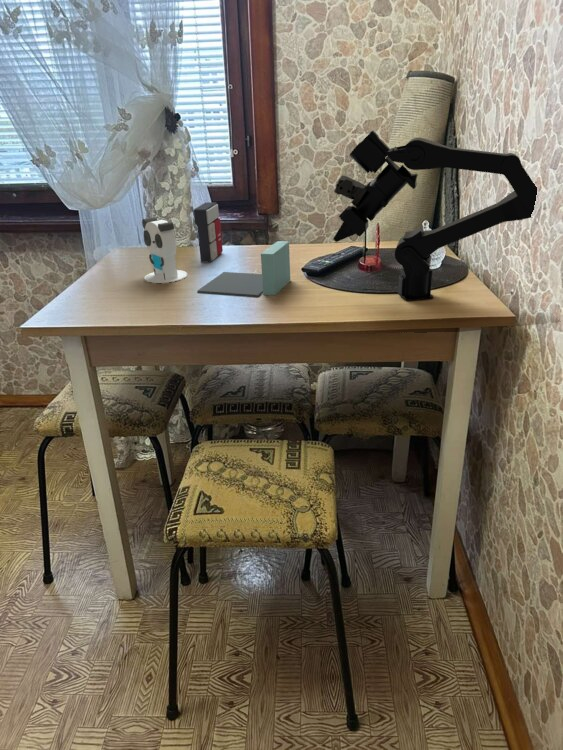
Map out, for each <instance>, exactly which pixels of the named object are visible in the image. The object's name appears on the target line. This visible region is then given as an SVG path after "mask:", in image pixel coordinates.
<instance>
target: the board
mask: <svg viewBox="0 0 563 750" xmlns="http://www.w3.org/2000/svg"><path fill="white" fill-rule="evenodd" d="M290 259H291V258H290V242H289V241H281V240H279V241H278V240H277V241H276V242H274V243H273V244H272V245H270V246H268V247H267V249H265V250H263V251H262V252H261V253H260V265H261V274H262V283H263V293H262V295H263V296H276V295H277V294H278V293H279V292H280V291H281V290H282V289H283V288H285V286H287V284H288V283H290V281H291V260H290Z"/></svg>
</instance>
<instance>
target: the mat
mask: <svg viewBox="0 0 563 750" xmlns="http://www.w3.org/2000/svg"><path fill="white" fill-rule="evenodd" d="M198 293H199V294H213V295H226V296H227V295H228V296H239V297H256V298H259V297H260V296H261V295H263V283H262V273H246V272H231V271H230V272H228V271H223V272H222V273H220V274H218V275H217V276H216V277H214V278H213V279H211V280H210V281H209V282H207V283H206V284H205V285H203V286H201V287H200V288H199V289H198V290H197V294H198Z"/></svg>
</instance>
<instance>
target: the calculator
mask: <svg viewBox="0 0 563 750" xmlns="http://www.w3.org/2000/svg"><path fill="white" fill-rule="evenodd" d="M219 213H220V211H219V204H218V202H214V201H212V202H211V201H210V202H208V201H207V202H203V204H200V205H199V206H197V207H195V208H194V209H193V219H194V224H195V225H196V227H197V236H198V245H199V246H198V247H199V248H198V249H199V256H200V262H201V263H212V262H213V261H214V260H216V259H217V257H219V255H221V253H223V238H222V228H221V219H220V218H219V217H220V214H219Z"/></svg>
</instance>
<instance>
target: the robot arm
mask: <svg viewBox="0 0 563 750" xmlns="http://www.w3.org/2000/svg"><path fill="white" fill-rule="evenodd" d="M348 156H349V157H350V158H351V159H352V160H354V162H355V163H356V164H357V165H358V166H359V167H360V168H362V169H363V170H364V172H365V173H366V174H369V173H371V174H372V173H374V174H376V173H377V172H378V171H379V170H380V169H381V168H382V166H384V164H386V166H385V167H384V168H382V170H381V171H380V172H379V173H378V175H377V176H375V178H374V179H373V180H372V181H369V182H368V183H367V185H366V184H364V183H361V182H360V181H358V180H355V179H353V178H351V177H348V176H347V175H344V174H343V175H341V176H340V177H339V178H338V180H337V183H336V185H335V188H334V190H333V191H334V193H335V194H337V195H338V196H340V195H341V196H343V197H345V198H348V199H349V200H351V204H352V205H348V206H346V208H345V209H344V210H343V211H342V212H341V213H340V214H339V215H338V217H339V219H340V220H341V221H342V223H341V225H340V226H339V228H338V230H337V232H336V233H335V235H334V236H333V241H334V242H336V243H338V242H340V241H342V240H345V239H347V238H349V237H351V236H354V235H356V236H358V237H361V236H362V235H363V234H364V233H365V232H366V231H367V230H368V228H369V221H370V222H372V221H373V220H374V219H375V218H376V216H377V215H378V214H379V213H380V212H381V211H382V210H383V209H384V208H386V206H387V205H389V204H390V202H391V201H392V200H393V199H394V198H395V196H397V195H398V194H399V193H400V192H401V190H402V189H403V188H405V186H406V185H408V186H409V187H410V188H412V189H413V190H414V189H416V187H417V185H418V182H417V179H418V175H419V174H418V173H417V172H416V173H412V172H411V171H409V170H412V171H421V170H434V169H446V168H449V169H456V170H463V171H473V172H480V173H488V174H498V175H501V176H502V175H503V176H504V177H505V178H506V180H507V181H508V183H509V185H510V186H511V188H512V190H513V191H512V192H510V193H508V194H507V195H506V196H505V197H504V198H502V199H501V200H499V202H496V203H494V204H492V205H489V206H487V207H485V208H482V209H479V210H478V211H474V212H472V213H471V214H467V215H465V216H463V217H461V218H459V219H456V220H454V221H452V222H449V223H446V224H443V225H442V226H440V227H437V228H435V229H430V230H429V229H428V230H424V226H423V225H420V226H418V227H417V228H415V229H413V230H409V231H405V232H404V235H403V236H401V238H399V240H398V243H397V245H396V247H395V249H394V257H395V260H396V262H397V263H398V264H400V265H401V266H402V268H400V269H401V270H400V274H399V275H398V280H397V281H398V282H397V283H398V284H397V285H398V287H397V293H398V295H399V296H401V297H402V298H403V299H404V301H406V302H407V301H408V302H409V301H418V300H420V301H421V300H430V299H432V300H433V299H434V295H433V294H431V293H432V283H433V269H432V268H431V264H432V263H431V261H432V254H433V253H434V252H436V251H438V250H439V249H441V248H442V247H446V246H448V245H450V244H453V243H456V242H458V241H461V240H463V239H465V238H468V237H470V236H473V235H475V234H478V233H480V232H483V231H485V230H487V229H490V228H493V227H496V226H497V225H500V224H502V223H505V222H506V223H507V222H514V221H523V220H526V219H531V218H532V217H531V214H532V212H533V210H534V205H535V201H536V195H537V187H536V186H535V184H534V183H533V182H534V181H533V179H531V176H530V175H529V173H528V172H527V170H526V169H525V168H524V166H523V164H522V162H521V159H520V157H519V156H518V155H517V154H516V153H511V152H509V153H503V152H502V153H501V152H493V151H485V150H476V149H468V148H461V147H460V148H457V147H450V146H447V145H444V144H441V143H439V142H436V141H433V140H430V139H427V138H424V137H415V138H412V139H411V140H409V141H407V143H406V144H405V145H400V146H396V145H395V146H393V147H391V148H390V147H389V146H388V145H387V144H386V143H385V142H384V140H382V138H380V137H379V135H378V133H377V132H376V131H375V130H371V131H370V132H369V133H368V134H367V135H366V136H365V138H363V140H362V141H360V142H358V144H357V145H355V147H354V148H353V149H352V151H351V152H350V153H349V155H348ZM396 163H400V164H402V165H400V166H399V165H398V164H396Z"/></svg>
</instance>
